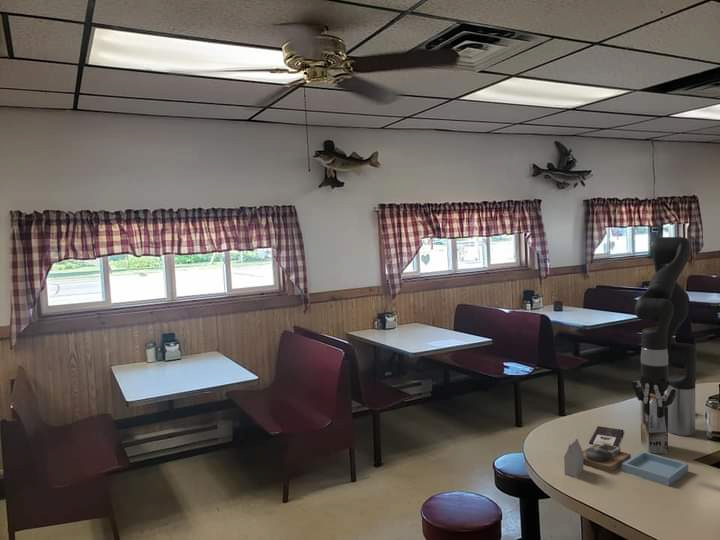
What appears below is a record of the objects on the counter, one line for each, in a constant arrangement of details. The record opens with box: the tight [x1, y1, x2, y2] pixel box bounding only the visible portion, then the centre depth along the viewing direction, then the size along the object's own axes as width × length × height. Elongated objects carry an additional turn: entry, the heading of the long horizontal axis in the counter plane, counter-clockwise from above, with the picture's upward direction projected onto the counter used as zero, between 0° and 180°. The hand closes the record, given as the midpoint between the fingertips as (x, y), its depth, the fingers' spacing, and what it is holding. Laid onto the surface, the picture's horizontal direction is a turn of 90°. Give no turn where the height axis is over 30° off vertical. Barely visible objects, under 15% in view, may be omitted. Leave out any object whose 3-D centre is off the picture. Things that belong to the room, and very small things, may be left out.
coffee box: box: [640, 400, 669, 455], centre depth 191 cm, size 9×6×16 cm
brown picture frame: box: [588, 426, 624, 447], centre depth 202 cm, size 9×1×18 cm
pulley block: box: [583, 443, 632, 474], centre depth 183 cm, size 14×12×5 cm
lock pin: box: [649, 393, 660, 429], centre depth 172 cm, size 3×3×11 cm
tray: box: [621, 450, 689, 487], centre depth 174 cm, size 14×14×2 cm
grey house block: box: [563, 438, 584, 478], centre depth 176 cm, size 4×7×10 cm, turn 141°
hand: (654, 415), depth 172 cm, fingers closed on lock pin, 3 cm apart
